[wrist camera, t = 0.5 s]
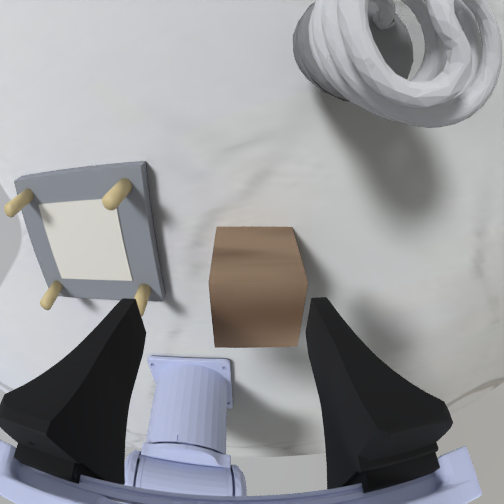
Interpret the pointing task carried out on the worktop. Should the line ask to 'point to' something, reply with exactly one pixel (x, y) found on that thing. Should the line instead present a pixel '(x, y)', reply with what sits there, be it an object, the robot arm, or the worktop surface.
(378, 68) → the light bulb
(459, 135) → the worktop surface
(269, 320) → the walnut block
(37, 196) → the standoff board
